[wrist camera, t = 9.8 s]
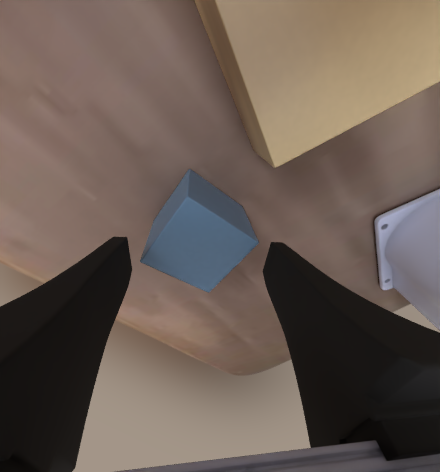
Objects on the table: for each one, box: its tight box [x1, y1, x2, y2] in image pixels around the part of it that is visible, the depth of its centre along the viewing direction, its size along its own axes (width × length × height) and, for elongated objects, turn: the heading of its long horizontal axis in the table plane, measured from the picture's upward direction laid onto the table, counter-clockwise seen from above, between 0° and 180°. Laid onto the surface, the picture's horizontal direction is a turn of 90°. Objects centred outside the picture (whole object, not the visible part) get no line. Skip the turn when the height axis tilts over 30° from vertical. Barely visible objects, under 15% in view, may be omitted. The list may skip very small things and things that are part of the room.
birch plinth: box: [194, 0, 440, 168], centre depth 8 cm, size 8×7×4 cm
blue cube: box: [140, 169, 259, 292], centre depth 13 cm, size 4×4×4 cm
